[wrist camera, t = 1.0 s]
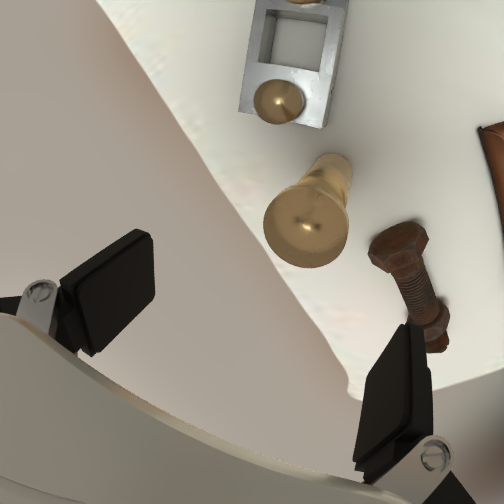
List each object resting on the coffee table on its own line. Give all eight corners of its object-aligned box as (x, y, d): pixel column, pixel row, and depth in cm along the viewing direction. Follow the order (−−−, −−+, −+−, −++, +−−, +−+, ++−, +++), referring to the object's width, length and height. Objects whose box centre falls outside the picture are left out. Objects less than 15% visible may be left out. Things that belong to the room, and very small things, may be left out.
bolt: (428, 326, 31) (384, 223, 27) (463, 328, 27) (427, 215, 23) (408, 363, 29) (357, 261, 25) (446, 369, 24) (406, 257, 20)
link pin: (314, 143, 25) (270, 178, 14) (361, 156, 24) (358, 204, 13) (304, 187, 27) (257, 253, 17) (349, 201, 26) (333, 278, 16)
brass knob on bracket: (273, -23, 18) (256, -40, 14) (350, -14, 16) (346, -33, 13) (250, 113, 26) (230, 116, 22) (325, 129, 24) (317, 134, 20)
